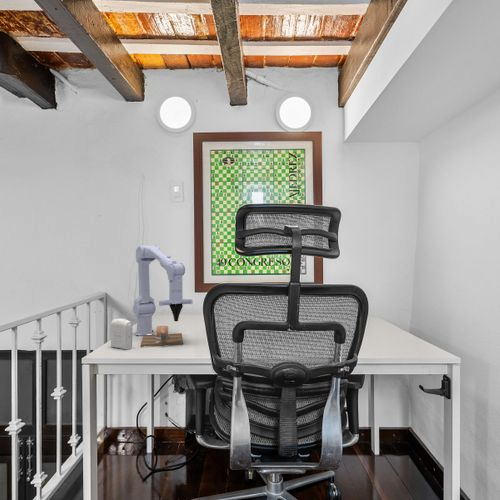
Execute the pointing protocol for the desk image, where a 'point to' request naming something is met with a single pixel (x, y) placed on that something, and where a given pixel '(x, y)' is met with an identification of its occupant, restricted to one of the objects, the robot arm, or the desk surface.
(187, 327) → the desk surface
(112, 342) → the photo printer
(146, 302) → the robot arm
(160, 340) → the walnut base
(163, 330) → the wooden tool handle
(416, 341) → the desk surface
